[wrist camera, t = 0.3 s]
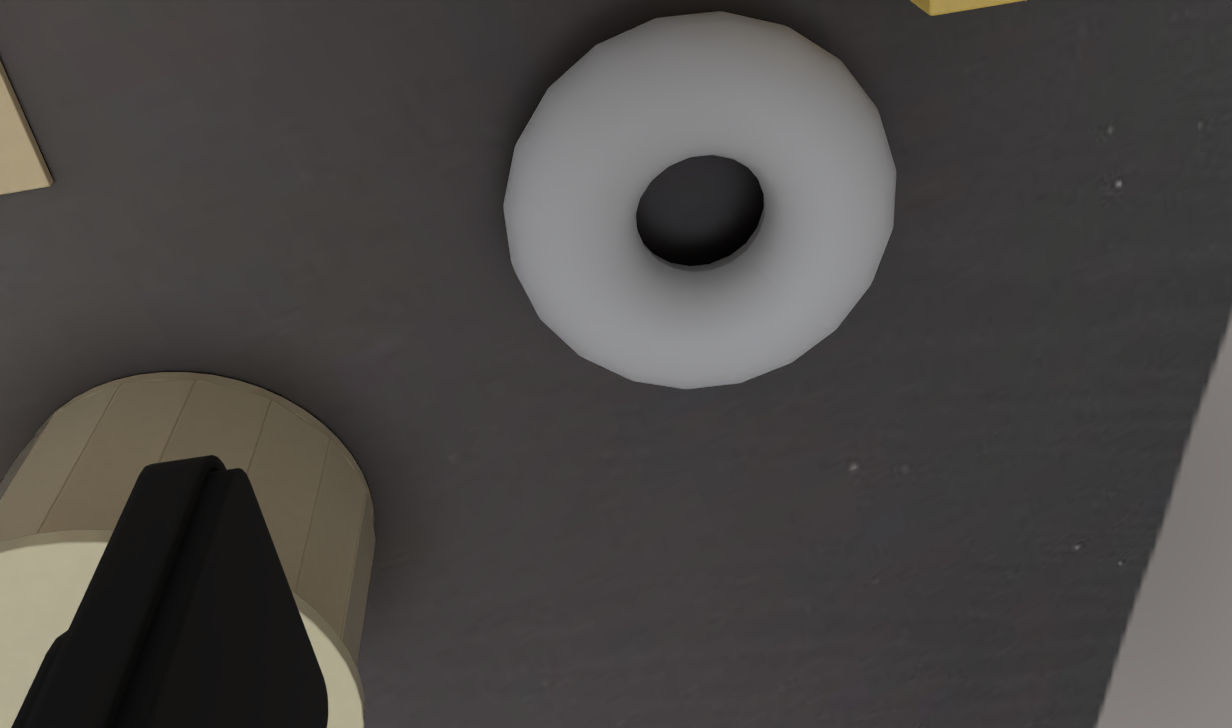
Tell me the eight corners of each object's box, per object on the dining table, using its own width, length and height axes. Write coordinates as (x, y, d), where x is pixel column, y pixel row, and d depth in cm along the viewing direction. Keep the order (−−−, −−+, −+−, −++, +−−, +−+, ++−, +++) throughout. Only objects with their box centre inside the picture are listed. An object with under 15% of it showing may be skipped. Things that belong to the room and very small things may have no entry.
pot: (-61, 454, 32) (-202, 644, 25) (254, 316, 30) (189, 481, 24) (156, 679, 37) (85, 883, 31) (433, 570, 36) (419, 761, 29)
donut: (584, -69, 26) (452, 290, 30) (596, -42, 23) (447, 352, 27) (941, 80, 29) (773, 390, 33) (993, 121, 26) (801, 456, 30)
